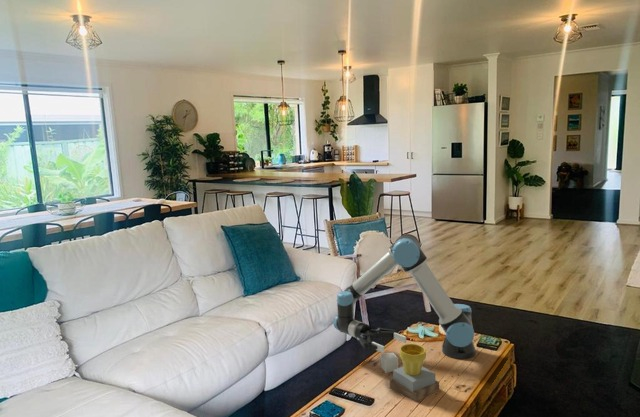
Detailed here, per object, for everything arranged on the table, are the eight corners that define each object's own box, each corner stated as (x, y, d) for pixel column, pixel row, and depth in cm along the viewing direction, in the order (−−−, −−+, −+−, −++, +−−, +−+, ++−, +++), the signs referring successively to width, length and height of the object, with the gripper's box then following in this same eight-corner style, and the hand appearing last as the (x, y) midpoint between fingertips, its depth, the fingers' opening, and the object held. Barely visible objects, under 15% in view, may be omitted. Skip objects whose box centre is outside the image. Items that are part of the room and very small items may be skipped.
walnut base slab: (412, 378, 198) (412, 369, 197) (439, 391, 187) (439, 381, 186) (390, 389, 189) (389, 380, 189) (416, 403, 178) (416, 394, 178)
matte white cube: (380, 366, 208) (380, 354, 208) (393, 364, 210) (392, 352, 209) (385, 372, 202) (385, 359, 202) (398, 370, 204) (398, 357, 203)
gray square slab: (415, 371, 196) (415, 362, 195) (435, 382, 186) (435, 373, 185) (393, 379, 190) (393, 369, 189) (412, 391, 180) (412, 382, 179)
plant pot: (425, 379, 181) (425, 355, 180) (399, 376, 183) (399, 353, 182) (425, 366, 191) (425, 344, 190) (400, 364, 193) (400, 342, 192)
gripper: (379, 330, 218) (414, 344, 201) (339, 346, 203) (374, 362, 186) (379, 315, 217) (414, 328, 200) (339, 330, 202) (373, 345, 185)
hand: (394, 344), depth 193 cm, fingers open, 13 cm apart
